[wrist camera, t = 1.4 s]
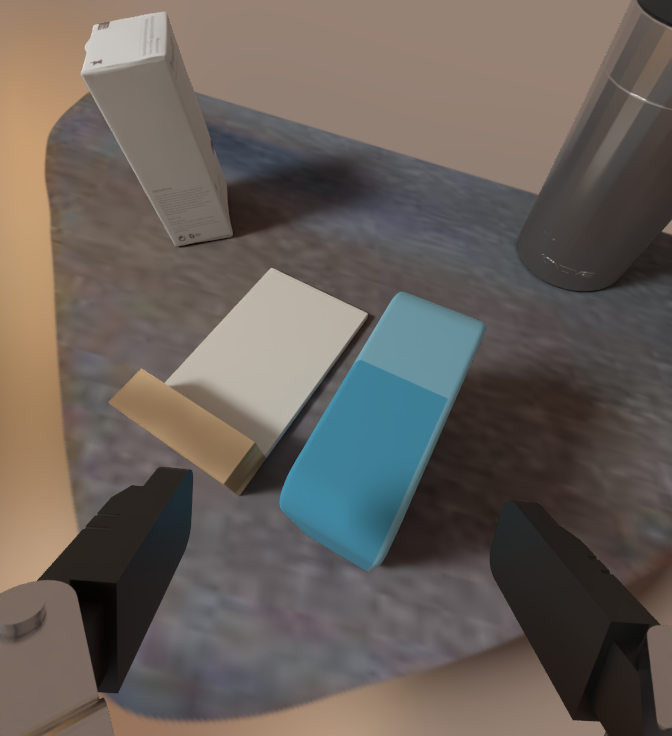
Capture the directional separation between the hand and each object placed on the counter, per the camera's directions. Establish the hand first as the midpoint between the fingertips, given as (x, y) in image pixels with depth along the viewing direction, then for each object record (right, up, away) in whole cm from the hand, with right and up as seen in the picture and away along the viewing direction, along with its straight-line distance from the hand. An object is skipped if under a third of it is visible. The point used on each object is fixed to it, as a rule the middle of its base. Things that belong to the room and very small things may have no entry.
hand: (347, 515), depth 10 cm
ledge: (-10, -1, +18) cm, 21 cm away
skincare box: (-14, +19, +30) cm, 38 cm away
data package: (+3, -3, +17) cm, 17 cm away
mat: (-6, +5, +21) cm, 23 cm away
